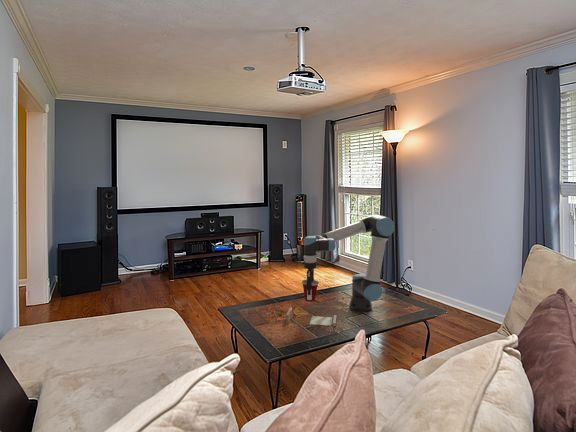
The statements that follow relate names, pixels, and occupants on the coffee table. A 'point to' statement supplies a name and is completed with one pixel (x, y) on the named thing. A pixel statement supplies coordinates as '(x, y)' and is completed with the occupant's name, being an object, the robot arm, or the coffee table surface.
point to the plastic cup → (313, 287)
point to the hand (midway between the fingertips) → (310, 297)
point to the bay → (315, 319)
